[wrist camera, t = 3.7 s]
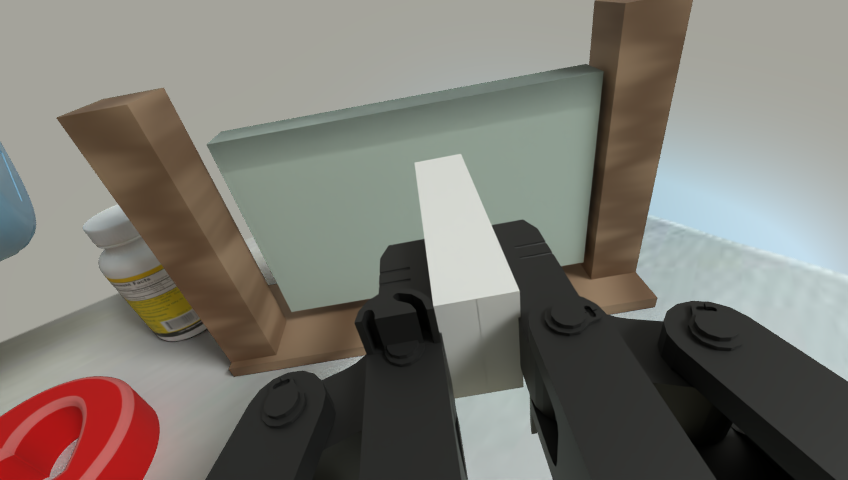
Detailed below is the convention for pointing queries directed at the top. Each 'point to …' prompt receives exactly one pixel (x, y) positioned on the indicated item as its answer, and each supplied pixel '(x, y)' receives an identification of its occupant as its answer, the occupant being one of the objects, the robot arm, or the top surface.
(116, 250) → the supplement bottle
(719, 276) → the top surface
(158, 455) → the top surface
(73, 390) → the decorative ornament
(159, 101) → the gate frame
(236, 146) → the gate
